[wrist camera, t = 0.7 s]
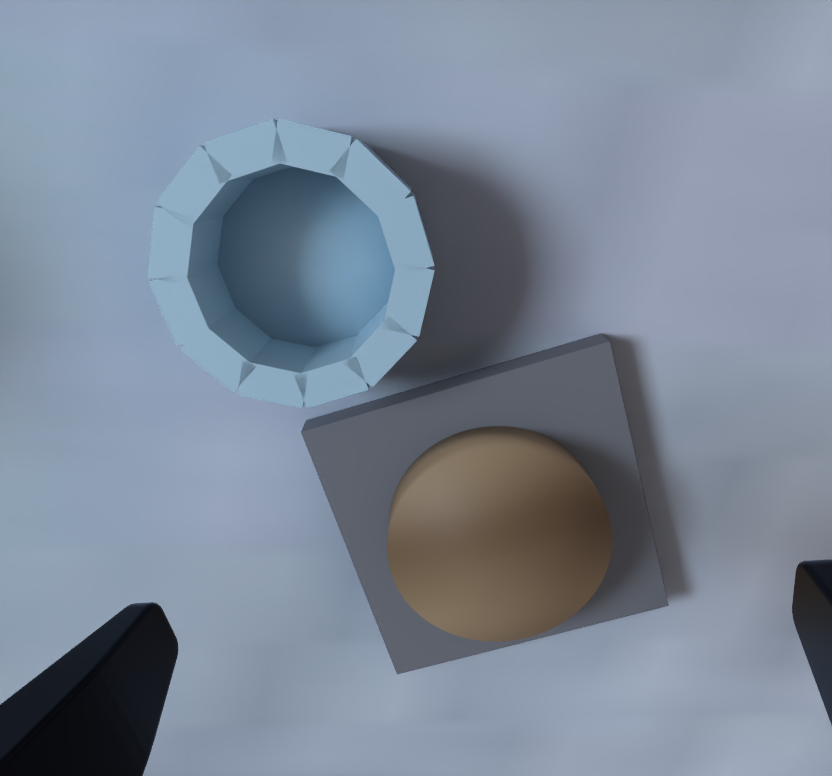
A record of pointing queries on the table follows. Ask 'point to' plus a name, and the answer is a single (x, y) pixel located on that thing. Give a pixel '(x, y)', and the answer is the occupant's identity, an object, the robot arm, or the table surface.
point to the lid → (497, 534)
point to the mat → (480, 407)
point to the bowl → (290, 263)
